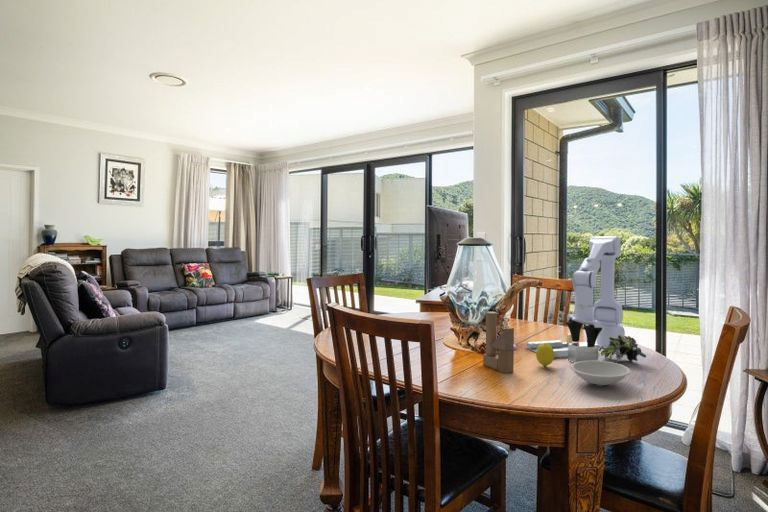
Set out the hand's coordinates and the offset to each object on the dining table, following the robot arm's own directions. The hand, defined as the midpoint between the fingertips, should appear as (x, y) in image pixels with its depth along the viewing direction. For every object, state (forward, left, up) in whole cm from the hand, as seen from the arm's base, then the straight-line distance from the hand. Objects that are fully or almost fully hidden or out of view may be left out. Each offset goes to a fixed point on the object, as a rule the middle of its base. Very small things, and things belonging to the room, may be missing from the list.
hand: (583, 344), depth 143 cm
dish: (+12, +22, -6) cm, 26 cm away
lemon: (+17, +3, -6) cm, 18 cm away
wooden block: (+33, +1, -6) cm, 33 cm away
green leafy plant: (-12, +4, -6) cm, 14 cm away
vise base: (-1, -13, -6) cm, 14 cm away
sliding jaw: (0, -18, -5) cm, 19 cm away
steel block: (0, 0, -6) cm, 6 cm away
